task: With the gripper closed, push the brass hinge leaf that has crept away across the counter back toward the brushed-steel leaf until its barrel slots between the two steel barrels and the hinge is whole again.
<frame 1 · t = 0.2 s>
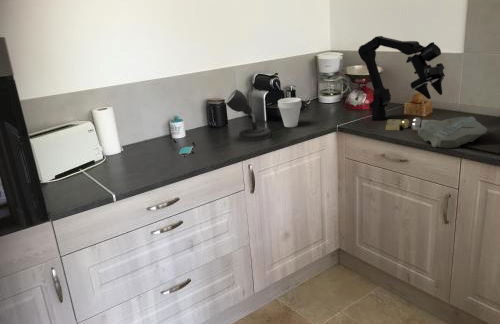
hand: (435, 96, 197), 15 cm above the worktop, tool tilted 30°, fingers open, 9 cm apart
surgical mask: (187, 151, 201), on the worktop
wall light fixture: (250, 137, 213), on the worktop
fixed leaf: (416, 127, 204), on the worktop
cup: (290, 125, 227), on the worktop
loose leaf: (397, 123, 206), point 2 cm above the worktop, slide at 5.0 cm
stone: (452, 141, 182), on the worktop
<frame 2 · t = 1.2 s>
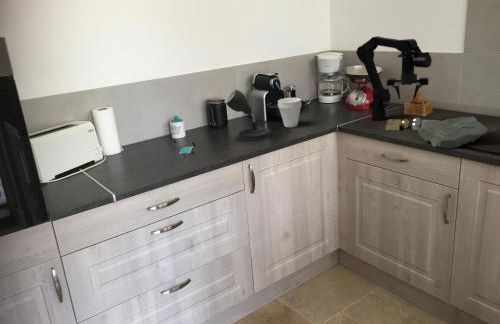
hand: (406, 99, 209), 12 cm above the worktop, tool pointing down, fingers open, 6 cm apart
nothing on the worktop moved.
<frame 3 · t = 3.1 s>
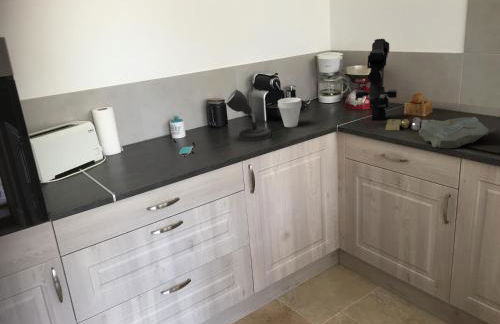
hand: (376, 111, 208), 8 cm above the worktop, tool pointing down, fingers closed
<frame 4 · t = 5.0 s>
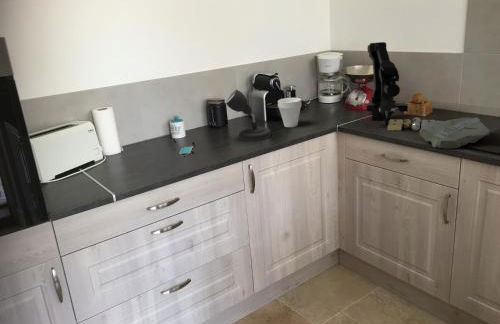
hand: (386, 124, 208), 1 cm above the worktop, tool pointing down, fingers closed
loose leaf: (399, 123, 206), point 2 cm above the worktop, slide at 4.1 cm, touching gripper
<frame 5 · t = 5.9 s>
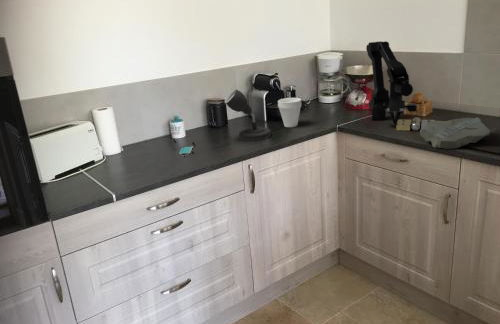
hand: (395, 124, 207), 1 cm above the worktop, tool pointing down, fingers closed
loose leaf: (408, 123, 205), point 2 cm above the worktop, slide at 0.2 cm, touching gripper
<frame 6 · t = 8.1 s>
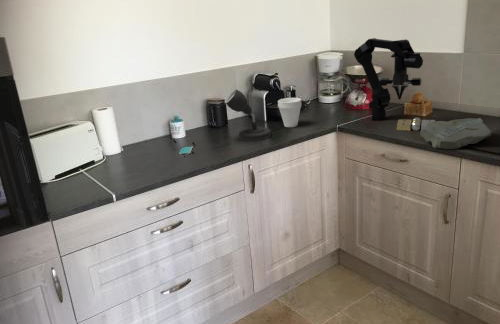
hand: (399, 99, 210), 12 cm above the worktop, tool pointing down, fingers closed
loose leaf: (408, 123, 204), point 2 cm above the worktop, slide at 0.1 cm
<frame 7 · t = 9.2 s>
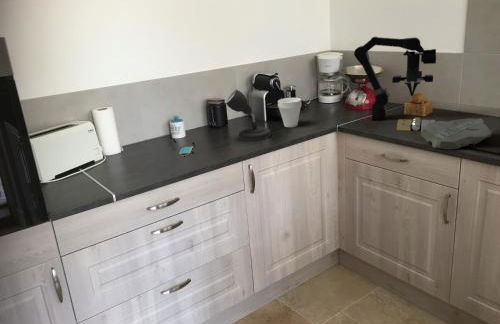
hand: (411, 96, 215), 12 cm above the worktop, tool pointing down, fingers closed
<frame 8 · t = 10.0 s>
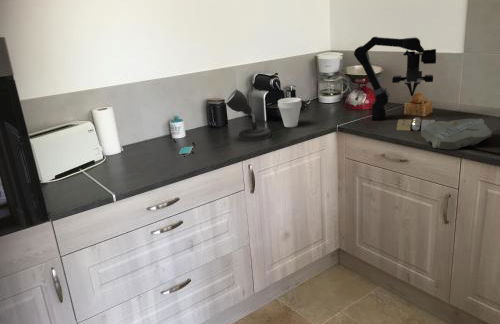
hand: (411, 96, 215), 12 cm above the worktop, tool pointing down, fingers closed
at the end: loose leaf slide at 0.1 cm; loose leaf touching nothing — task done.
